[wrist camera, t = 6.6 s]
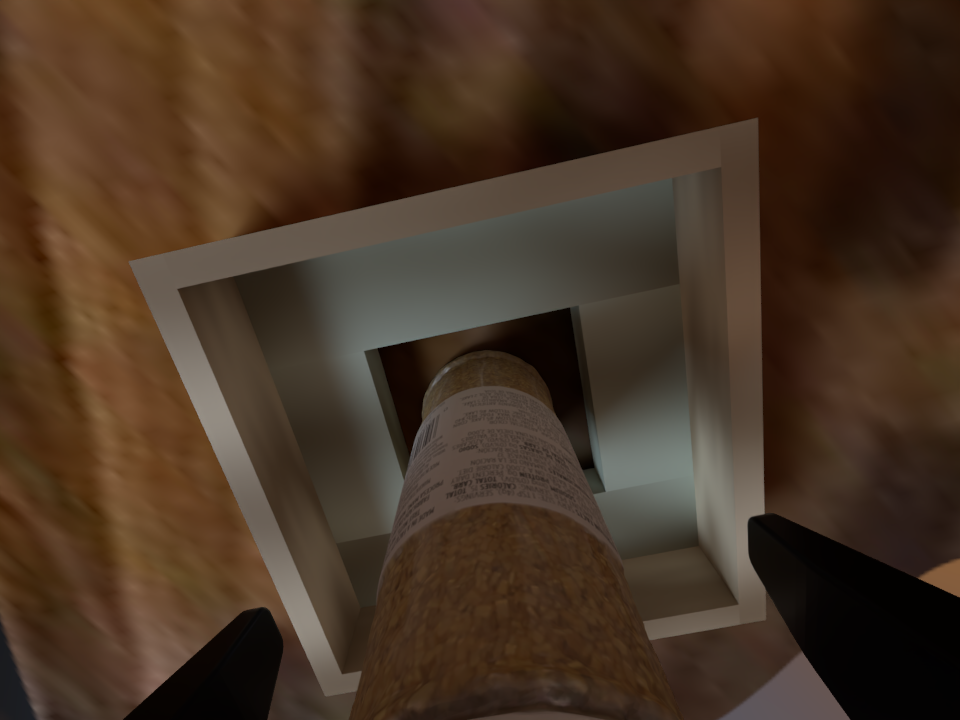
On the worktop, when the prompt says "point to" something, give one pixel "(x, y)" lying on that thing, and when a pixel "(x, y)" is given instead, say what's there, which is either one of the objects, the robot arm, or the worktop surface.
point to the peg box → (477, 302)
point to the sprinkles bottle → (503, 571)
